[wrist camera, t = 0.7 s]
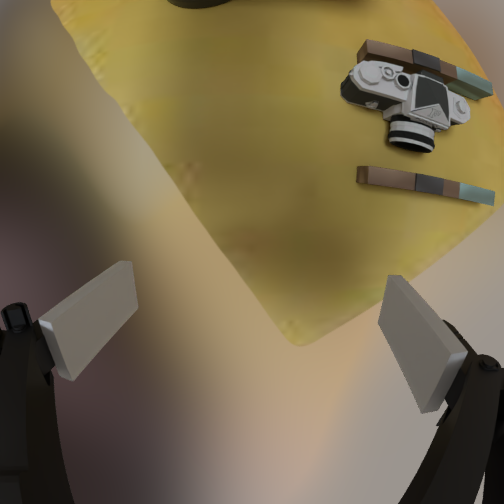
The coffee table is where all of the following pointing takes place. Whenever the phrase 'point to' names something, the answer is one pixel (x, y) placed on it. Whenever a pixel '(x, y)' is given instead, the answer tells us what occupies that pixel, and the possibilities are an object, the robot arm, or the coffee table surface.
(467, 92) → the rail
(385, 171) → the rail
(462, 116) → the camera
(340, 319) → the coffee table surface
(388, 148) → the coffee table surface
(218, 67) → the coffee table surface
